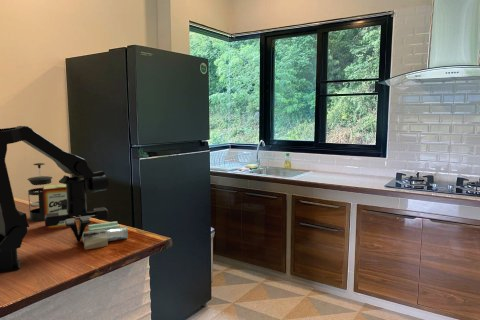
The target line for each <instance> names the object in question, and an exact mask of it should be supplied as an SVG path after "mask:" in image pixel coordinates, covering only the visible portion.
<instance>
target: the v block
mask: <svg viewBox="0 0 480 320" xmlns="http://www.w3.org/2000/svg"><path fill="white" fill-rule="evenodd" d="M87 225H88V226H87V227H88V228H87V229H88V231H94V230H101V229H103V230H108V229H115V228H121V226H120V224H119V222H118V221H117V220H116V221H109V222H101V223H94V224H93V223H92V224H87Z"/></svg>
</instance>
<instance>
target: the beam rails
mask: <svg viewBox="0 0 480 320" xmlns="http://www.w3.org/2000/svg"><path fill="white" fill-rule="evenodd" d="M101 230H103V229H101ZM101 230H94V231H101ZM94 231H89V230H87V231H84V232H83V233H87V232H94ZM81 242H82V243H83V234H82V237H81ZM108 246H109V241H108V237H107V235H106V236H99V237H92V238H86V239H84V243H83V248H84V250H90V249H98V248H103V247H108Z"/></svg>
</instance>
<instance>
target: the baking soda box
mask: <svg viewBox="0 0 480 320" xmlns="http://www.w3.org/2000/svg"><path fill="white" fill-rule="evenodd" d="M42 188H43V200H44V216H45V215H46V214H48V213H57V212H58V214H59V215H67V214H68V213H67V210H62V209H61V200H67V192H66V184H62V183H59V184H53V185H43V186H42ZM44 227H45V228H44V231H49V230H50V231H51V230H57V229H59V230H60V229H65V228H67V229H68V228H70V226H66V224H65V221H59V224H58V225H55V226H48V227H47V226H45V225H44Z"/></svg>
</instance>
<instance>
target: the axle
mask: <svg viewBox="0 0 480 320" xmlns="http://www.w3.org/2000/svg"><path fill="white" fill-rule="evenodd" d="M128 231H129V230H128V227H127V226H124V227H120V228H115V229H108V230H101V231H94V232H87V231H86V232H87V233H83V242H82V243H83V244H84V239H86V238H92V237H99V236H106V235H107V237H108V242H112V241H119V240H124V239H128V238H129V232H128Z"/></svg>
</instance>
